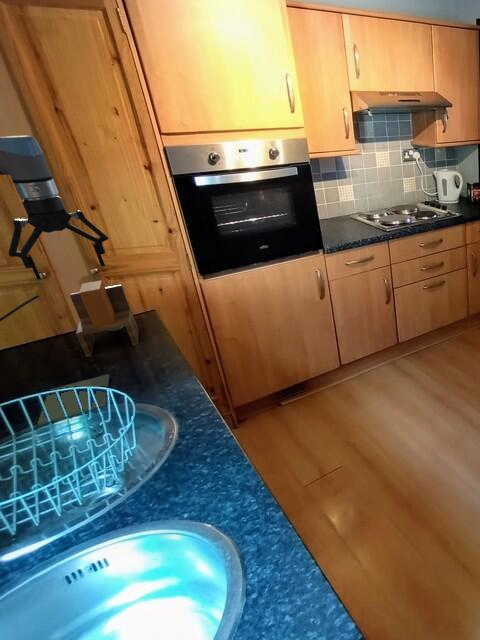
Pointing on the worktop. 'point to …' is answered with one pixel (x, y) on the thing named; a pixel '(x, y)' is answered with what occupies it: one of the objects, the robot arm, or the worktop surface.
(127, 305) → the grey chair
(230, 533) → the worktop surface
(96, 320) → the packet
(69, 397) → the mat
